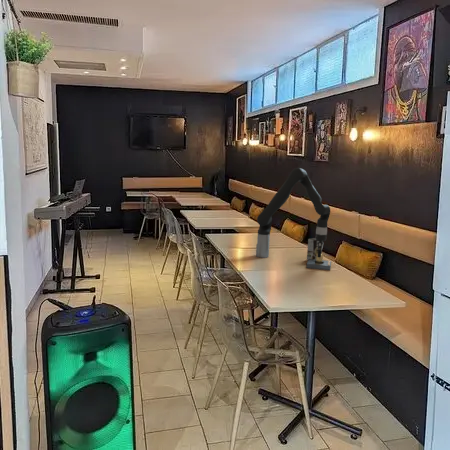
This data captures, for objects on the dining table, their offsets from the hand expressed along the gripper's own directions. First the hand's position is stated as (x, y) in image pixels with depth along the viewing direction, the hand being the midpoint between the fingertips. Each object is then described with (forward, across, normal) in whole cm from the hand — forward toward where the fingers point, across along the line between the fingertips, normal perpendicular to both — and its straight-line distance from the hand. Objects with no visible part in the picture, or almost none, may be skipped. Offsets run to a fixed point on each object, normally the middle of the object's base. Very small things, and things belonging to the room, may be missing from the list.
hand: (319, 255), depth 322 cm
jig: (+8, 0, 0) cm, 8 cm away
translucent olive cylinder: (+8, 0, 0) cm, 8 cm away
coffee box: (+8, -19, -5) cm, 21 cm away
